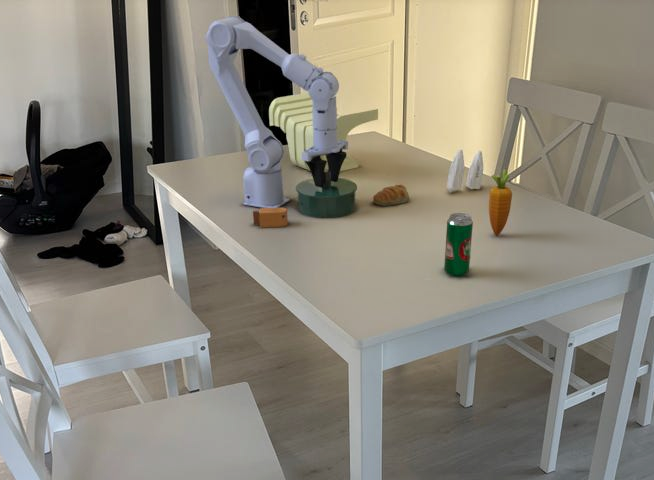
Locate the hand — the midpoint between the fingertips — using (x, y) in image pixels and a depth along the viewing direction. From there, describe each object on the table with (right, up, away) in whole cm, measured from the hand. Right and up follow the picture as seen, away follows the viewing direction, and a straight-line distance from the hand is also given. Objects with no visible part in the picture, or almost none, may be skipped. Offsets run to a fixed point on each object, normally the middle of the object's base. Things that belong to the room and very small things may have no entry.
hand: (326, 183), depth 183 cm
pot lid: (0, -1, +1) cm, 1 cm away
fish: (-13, -11, -7) cm, 19 cm away
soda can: (+28, -26, -31) cm, 49 cm away
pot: (0, -5, +3) cm, 6 cm away
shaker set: (+36, +1, +14) cm, 39 cm away
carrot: (+39, -15, -14) cm, 45 cm away
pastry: (+16, -3, +7) cm, 18 cm away
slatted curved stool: (-2, +13, +34) cm, 36 cm away
